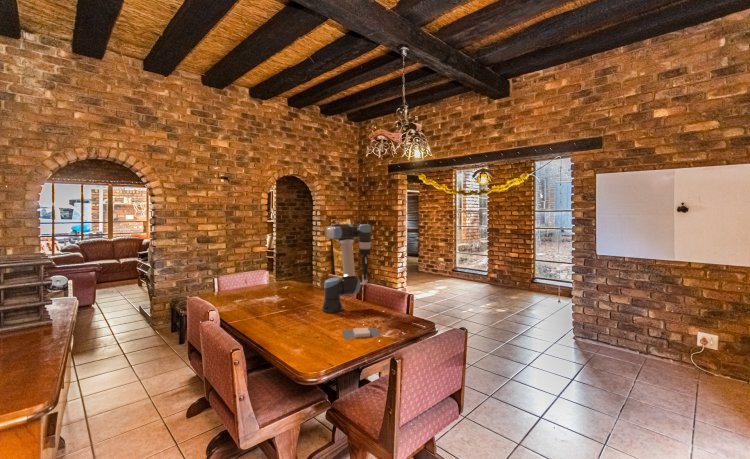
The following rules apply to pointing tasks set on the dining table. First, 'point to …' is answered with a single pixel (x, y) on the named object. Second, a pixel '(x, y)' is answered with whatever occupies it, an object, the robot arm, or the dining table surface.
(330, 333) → the dining table surface
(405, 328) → the dining table surface
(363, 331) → the tile
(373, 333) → the mat
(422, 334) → the dining table surface
